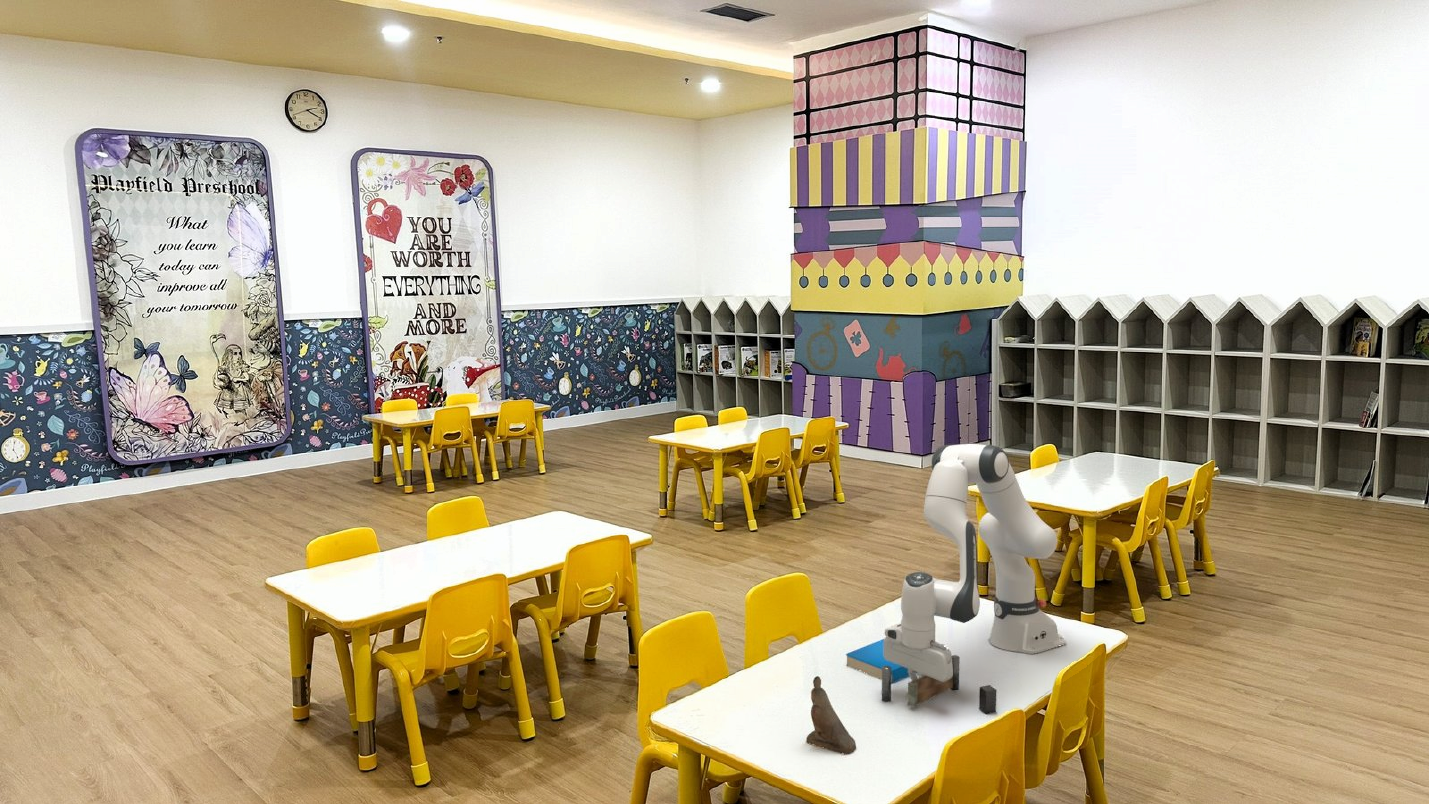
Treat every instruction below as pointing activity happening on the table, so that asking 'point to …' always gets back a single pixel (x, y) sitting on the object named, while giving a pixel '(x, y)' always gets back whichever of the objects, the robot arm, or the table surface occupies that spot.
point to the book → (874, 662)
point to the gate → (926, 689)
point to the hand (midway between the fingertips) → (917, 686)
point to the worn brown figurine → (827, 724)
